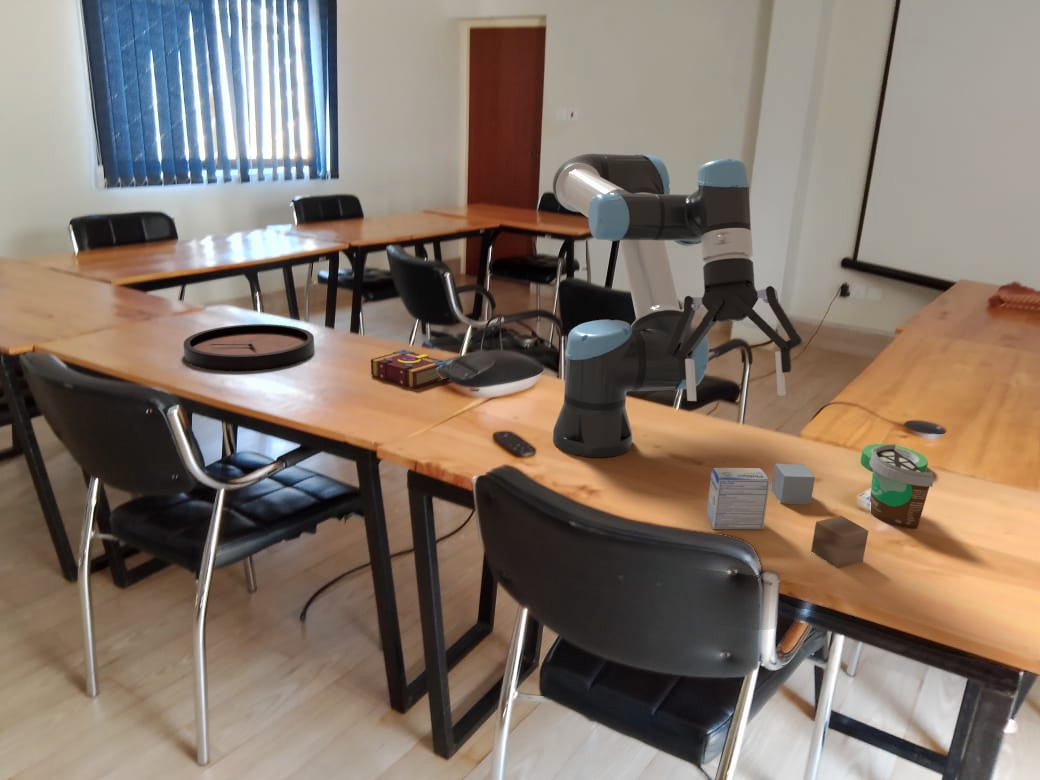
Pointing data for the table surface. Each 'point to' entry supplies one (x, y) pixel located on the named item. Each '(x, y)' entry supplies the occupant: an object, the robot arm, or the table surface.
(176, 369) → the table surface
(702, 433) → the table surface
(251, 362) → the wall clock
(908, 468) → the food container
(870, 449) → the tape roll
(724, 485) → the medicine box
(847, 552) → the walnut block
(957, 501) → the table surface
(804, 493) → the slate grey block
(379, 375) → the decorative book
